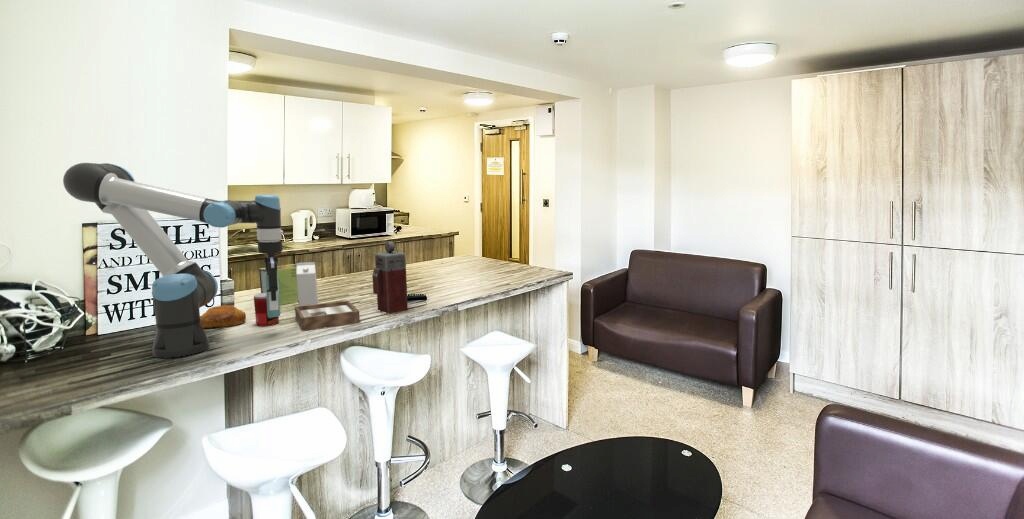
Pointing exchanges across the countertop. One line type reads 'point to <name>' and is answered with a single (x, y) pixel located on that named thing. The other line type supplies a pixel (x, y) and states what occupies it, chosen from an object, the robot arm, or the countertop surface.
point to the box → (326, 315)
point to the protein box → (283, 283)
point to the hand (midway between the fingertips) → (273, 308)
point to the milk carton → (307, 284)
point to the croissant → (222, 316)
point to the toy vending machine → (390, 280)
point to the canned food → (263, 311)
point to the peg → (269, 312)
